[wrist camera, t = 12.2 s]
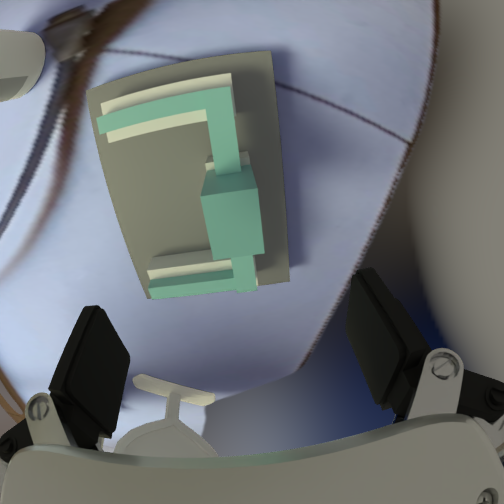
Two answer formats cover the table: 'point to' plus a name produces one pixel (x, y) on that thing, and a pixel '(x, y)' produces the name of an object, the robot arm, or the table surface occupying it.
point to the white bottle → (19, 62)
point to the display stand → (190, 165)
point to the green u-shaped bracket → (211, 194)
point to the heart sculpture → (167, 425)
